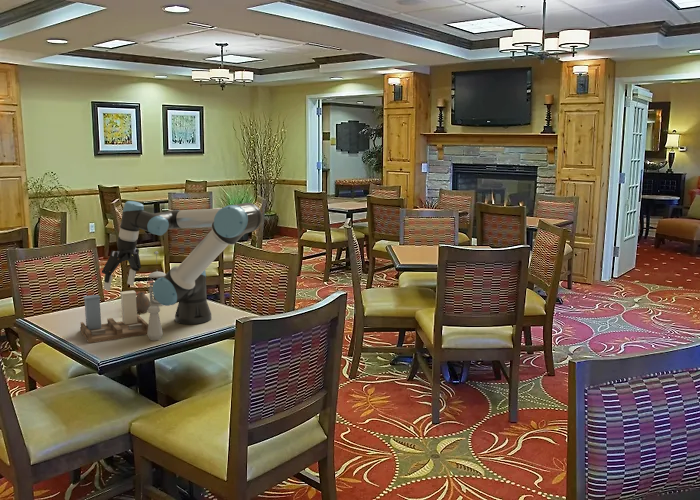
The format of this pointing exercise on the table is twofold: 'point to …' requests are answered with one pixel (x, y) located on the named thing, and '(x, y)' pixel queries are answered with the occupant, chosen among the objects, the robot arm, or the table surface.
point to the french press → (155, 275)
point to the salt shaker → (154, 324)
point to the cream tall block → (129, 307)
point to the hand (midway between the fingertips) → (118, 287)
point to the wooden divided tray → (114, 330)
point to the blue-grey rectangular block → (92, 311)
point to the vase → (142, 302)
